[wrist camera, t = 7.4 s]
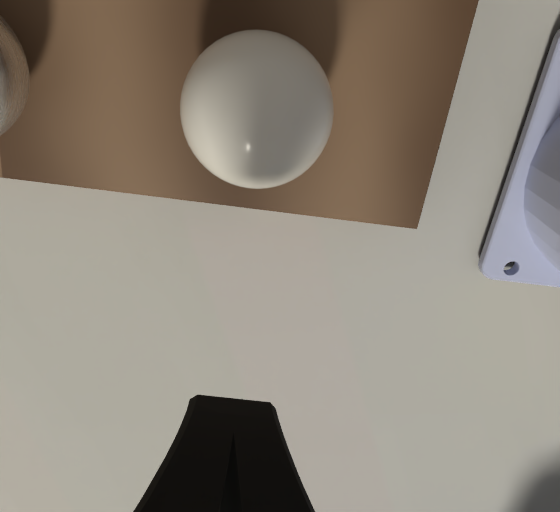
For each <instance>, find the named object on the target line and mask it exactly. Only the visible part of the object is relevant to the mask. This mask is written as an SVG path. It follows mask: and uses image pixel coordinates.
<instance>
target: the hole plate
mask: <svg viewBox="0 0 560 512" xmlns="http://www.w3.org/2000/svg"><path fill="white" fill-rule="evenodd" d="M478 1H479V0H0V15H1V16H2V17H3V18H4V19H5V21H6V22H7V23H8V24H9V26H10V27H11V28H12V30H13V31H14V33H15V34H16V36H17V37H18V39H19V41H20V43H21V45H22V47H23V50H24V53H25V55H26V59H27V63H28V67H29V75H30V86H29V93H28V97H27V100H26V104H25V106H24V109H23V111H22V113H21V115H20V116H19V118H18V119H17V120H16V122H15V123H14V124H13V125H12V126H11V127H10V128H9V129H8V130H7V131H6V132H5V133H3V134H2V135H1V136H0V177H3V178H11V179H19V180H27V181H35V182H43V183H51V184H59V185H67V186H75V187H83V188H91V189H99V190H107V191H115V192H123V193H132V194H140V195H148V196H156V197H164V198H172V199H180V200H188V201H196V202H204V203H212V204H220V205H228V206H236V207H244V208H252V209H260V210H269V211H277V212H285V213H293V214H301V215H309V216H317V217H325V218H333V219H341V220H349V221H357V222H365V223H373V224H381V225H389V226H397V227H405V228H414V229H417V227H418V223H419V219H420V215H421V212H422V208H423V204H424V201H425V197H426V193H427V190H428V186H429V182H430V178H431V175H432V171H433V167H434V164H435V160H436V156H437V153H438V149H439V145H440V141H441V138H442V134H443V130H444V127H445V123H446V119H447V116H448V112H449V108H450V104H451V101H452V97H453V93H454V90H455V86H456V82H457V79H458V75H459V71H460V67H461V64H462V60H463V56H464V53H465V49H466V45H467V42H468V38H469V34H470V30H471V27H472V23H473V19H474V16H475V12H476V8H477V5H478ZM255 29H258V30H268V31H273V32H277V33H280V34H283V35H285V36H288V37H289V38H291V39H293V40H295V41H297V42H298V43H299V44H301V45H302V46H304V47H305V48H306V49H307V50H308V51H309V52H310V53H311V54H312V55H313V56H314V57H315V59H316V60H317V61H318V62H319V64H320V65H321V67H322V69H323V70H324V72H325V74H326V77H327V79H328V81H329V85H330V88H331V92H332V97H333V106H334V115H333V124H332V128H331V132H330V136H329V138H328V141H327V143H326V145H325V147H324V149H323V151H322V153H321V154H320V156H319V157H318V159H317V160H316V161H315V162H314V164H313V165H312V166H311V167H310V168H309V169H308V170H306V171H305V172H304V173H303V174H302V175H300V176H299V177H297V178H295V179H294V180H292V181H290V182H288V183H285V184H282V185H279V186H276V187H271V188H263V189H253V188H245V187H239V186H236V185H233V184H230V183H228V182H226V181H224V180H221V179H220V178H218V177H217V176H215V175H214V174H212V173H211V172H210V171H209V170H207V169H206V168H205V167H204V166H203V165H202V164H201V163H200V162H199V160H198V159H197V158H196V156H195V155H194V154H193V152H192V150H191V148H190V147H189V145H188V143H187V140H186V138H185V135H184V132H183V128H182V124H181V117H180V99H181V92H182V88H183V84H184V81H185V79H186V76H187V74H188V72H189V70H190V69H191V67H192V65H193V63H194V62H195V61H196V59H197V58H198V57H199V55H200V54H201V53H202V52H203V51H204V50H205V49H206V48H207V47H209V46H210V45H211V44H213V43H214V42H215V41H217V40H219V39H221V38H222V37H224V36H227V35H229V34H232V33H235V32H239V31H244V30H255Z"/></svg>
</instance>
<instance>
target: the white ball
mask: <svg viewBox="0 0 560 512" xmlns="http://www.w3.org/2000/svg"><path fill="white" fill-rule="evenodd" d="M333 115H334V106H333V97H332V92H331V88H330V85H329V81H328V79H327V77H326V74H325V72H324V70H323V69H322V67H321V65H320V64H319V62H318V61H317V60H316V59H315V57H314V56H313V55H312V54H311V53H310V52H309V51H308V50H307V49H306V48H305V47H304V46H302V45H301V44H299V43H298V42H297V41H295V40H293V39H291V38H289V37H288V36H285V35H283V34H280V33H277V32H273V31H268V30H258V29H255V30H244V31H239V32H235V33H232V34H229V35H227V36H224V37H222V38H221V39H219V40H217V41H215V42H214V43H213V44H211V45H210V46H209V47H207V48H206V49H205V50H204V51H203V52H202V53H201V54H200V55H199V57H198V58H197V59H196V61H195V62H194V63H193V65H192V67H191V69H190V70H189V72H188V74H187V76H186V79H185V81H184V84H183V88H182V92H181V99H180V117H181V124H182V128H183V132H184V135H185V138H186V140H187V143H188V145H189V147H190V148H191V150H192V152H193V154H194V155H195V156H196V158H197V159H198V160H199V162H200V163H201V164H202V165H203V166H204V167H205V168H206V169H207V170H209V171H210V172H211V173H212V174H214V175H215V176H217V177H218V178H220V179H221V180H224V181H226V182H228V183H230V184H233V185H236V186H239V187H245V188H253V189H263V188H271V187H276V186H279V185H282V184H285V183H288V182H290V181H292V180H294V179H295V178H297V177H299V176H300V175H302V174H303V173H304V172H305V171H306V170H308V169H309V168H310V167H311V166H312V165H313V164H314V162H315V161H316V160H317V159H318V157H319V156H320V154H321V153H322V151H323V149H324V147H325V145H326V143H327V141H328V138H329V136H330V132H331V128H332V124H333Z"/></svg>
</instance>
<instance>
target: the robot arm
mask: <svg viewBox="0 0 560 512" xmlns="http://www.w3.org/2000/svg"><path fill="white" fill-rule="evenodd" d="M513 261H514V265H513V267H512V268H510V269H509V270H504V267H505V265H506V264H507V263H509V262H513ZM478 266H479V269H480V271H481V272H482V273H483V275H485V276H486V277H487V278H490V279H494V280H503V281H511V282H519V283H528V284H536V285H545V286H553V287H560V29H559V30H558V31H557V32H556V34H555V36H554V38H553V41H552V44H551V47H550V50H549V53H548V56H547V59H546V62H545V65H544V68H543V71H542V74H541V76H540V79H539V82H538V85H537V88H536V91H535V94H534V97H533V100H532V103H531V106H530V109H529V112H528V115H527V118H526V121H525V124H524V127H523V130H522V133H521V136H520V139H519V142H518V145H517V148H516V151H515V154H514V157H513V160H512V163H511V166H510V169H509V172H508V175H507V178H506V181H505V184H504V187H503V190H502V193H501V196H500V199H499V202H498V205H497V208H496V211H495V214H494V217H493V220H492V223H491V226H490V229H489V232H488V235H487V238H486V241H485V244H484V247H483V250H482V253H481V256H480V259H479V264H478ZM133 512H315V511H314V509H313V506H312V504H311V502H310V500H309V498H308V495H307V493H306V491H305V489H304V487H303V484H302V482H301V479H300V477H299V475H298V472H297V470H296V467H295V465H294V462H293V459H292V457H291V454H290V452H289V449H288V446H287V444H286V441H285V438H284V435H283V432H282V429H281V426H280V423H279V419H278V416H277V412H276V409H275V407H274V406H273V405H272V404H271V403H270V402H261V401H252V400H243V399H233V398H224V397H214V396H205V395H196V396H195V397H193V398H191V399H190V401H189V404H188V408H187V411H186V414H185V416H184V419H183V421H182V424H181V426H180V428H179V431H178V433H177V435H176V437H175V439H174V441H173V443H172V445H171V447H170V449H169V451H168V453H167V455H166V457H165V459H164V461H163V462H162V464H161V466H160V468H159V469H158V471H157V473H156V474H155V476H154V478H153V480H152V481H151V483H150V485H149V487H148V488H147V490H146V492H145V494H144V495H143V497H142V499H141V500H140V502H139V504H138V505H137V507H136V508H135V510H134V511H133Z"/></svg>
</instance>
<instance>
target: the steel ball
mask: <svg viewBox="0 0 560 512" xmlns="http://www.w3.org/2000/svg"><path fill="white" fill-rule="evenodd" d="M29 86H30V75H29V67H28V63H27V59H26V55H25V53H24V50H23V47H22V45H21V43H20V41H19V39H18V37H17V36H16V34H15V33H14V31H13V30H12V28H11V27H10V26H9V24H8V23H7V22H6V21H5V19H4V18H3V17H2V16H1V15H0V136H1V135H2V134H3V133H5V132H6V131H7V130H8V129H9V128H10V127H11V126H12V125H13V124H14V123H15V122H16V120H17V119H18V118H19V116H20V115H21V113H22V111H23V109H24V106H25V104H26V100H27V97H28V93H29Z"/></svg>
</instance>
